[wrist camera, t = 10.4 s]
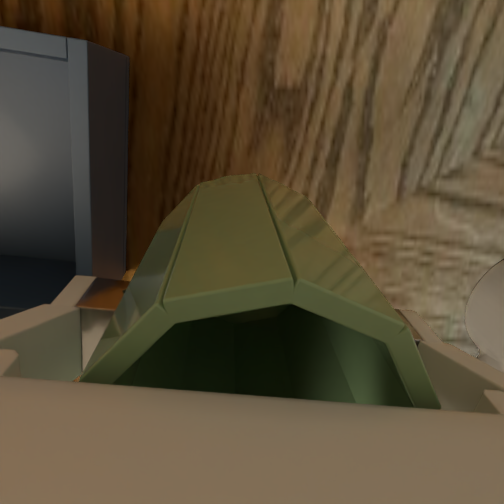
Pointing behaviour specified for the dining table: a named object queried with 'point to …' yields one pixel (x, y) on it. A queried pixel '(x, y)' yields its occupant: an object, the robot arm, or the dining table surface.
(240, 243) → the pot
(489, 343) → the coffee mug
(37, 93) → the box
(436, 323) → the dining table surface
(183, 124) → the dining table surface
